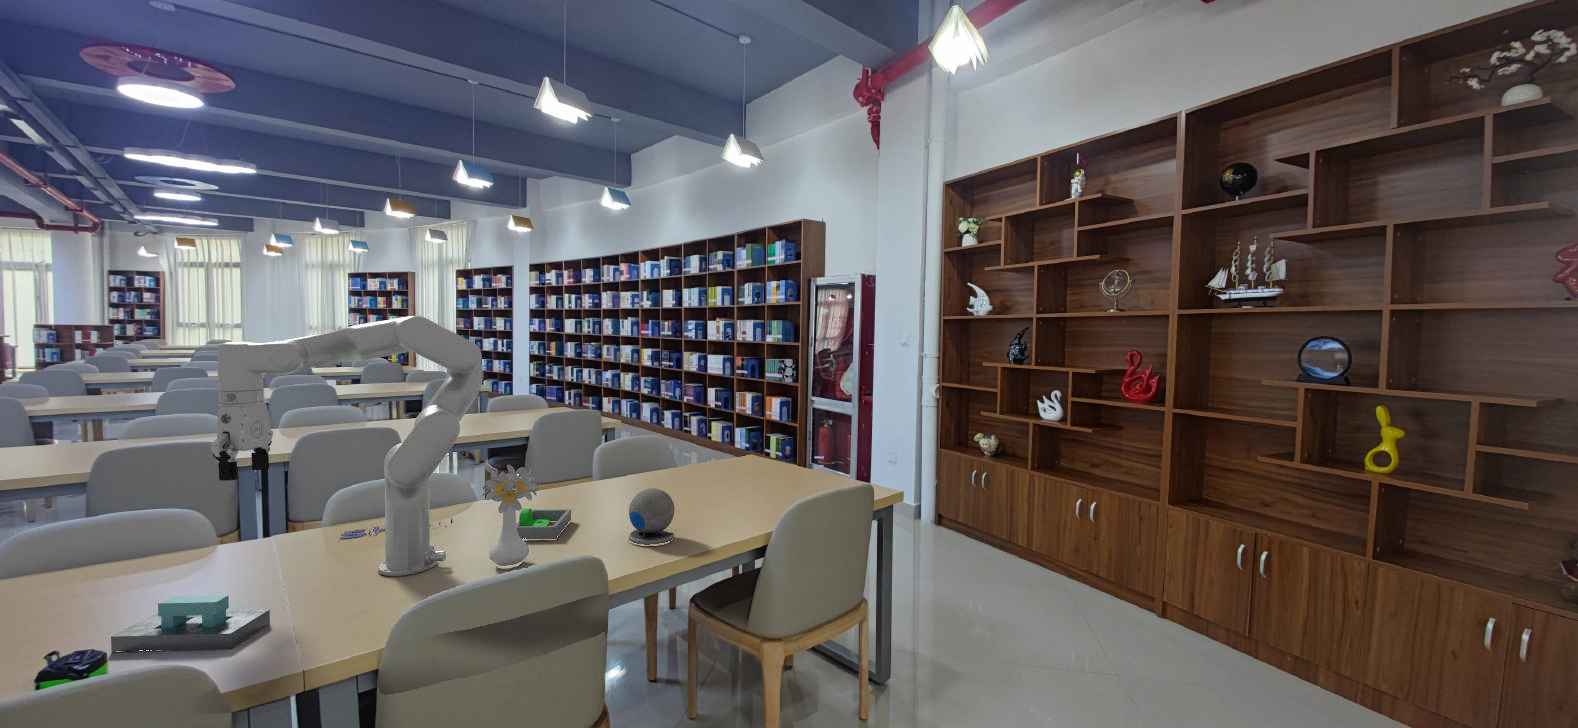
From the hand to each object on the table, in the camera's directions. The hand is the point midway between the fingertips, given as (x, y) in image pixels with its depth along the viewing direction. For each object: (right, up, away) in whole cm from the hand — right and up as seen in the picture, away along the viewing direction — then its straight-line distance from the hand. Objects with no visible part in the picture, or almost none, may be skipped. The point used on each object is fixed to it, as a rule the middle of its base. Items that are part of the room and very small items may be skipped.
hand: (245, 474), depth 138 cm
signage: (+4, -25, +49) cm, 55 cm away
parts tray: (+47, -26, +49) cm, 72 cm away
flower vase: (+50, -27, +21) cm, 61 cm away
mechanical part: (+45, -26, +49) cm, 71 cm away
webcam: (+81, -27, +44) cm, 95 cm away
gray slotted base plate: (+7, -28, -18) cm, 34 cm away
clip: (+7, -28, -18) cm, 34 cm away
